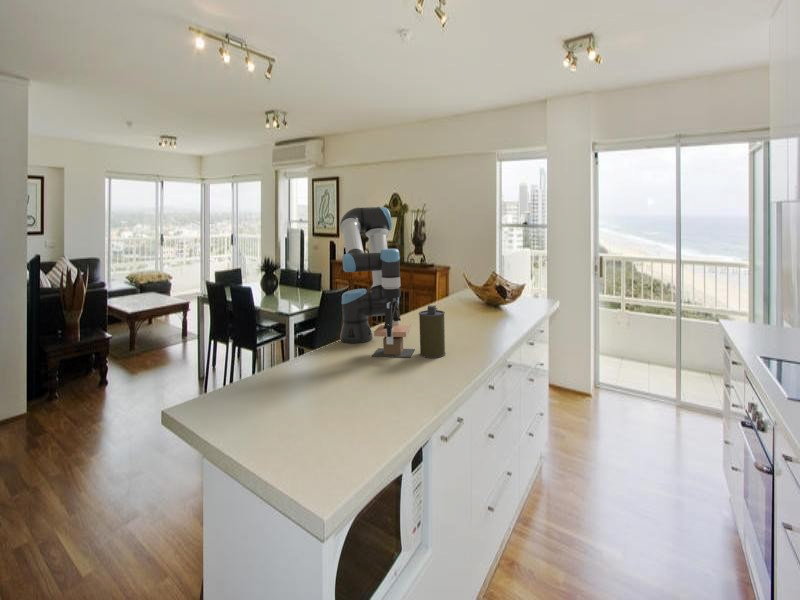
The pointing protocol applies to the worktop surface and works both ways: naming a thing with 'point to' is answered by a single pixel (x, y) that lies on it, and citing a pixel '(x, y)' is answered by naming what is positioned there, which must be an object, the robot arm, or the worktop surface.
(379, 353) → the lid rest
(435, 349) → the canister
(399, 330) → the lid
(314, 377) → the worktop surface
